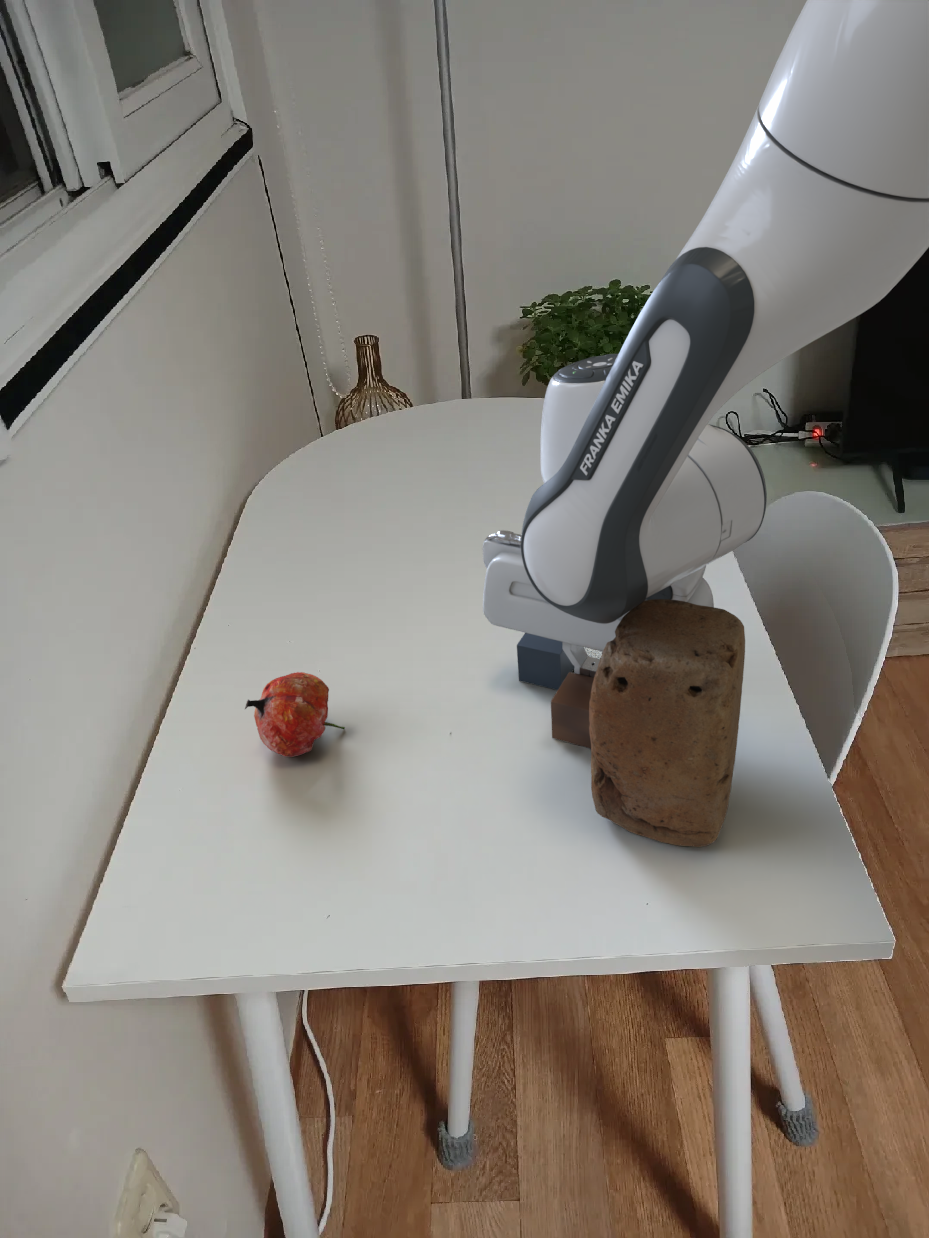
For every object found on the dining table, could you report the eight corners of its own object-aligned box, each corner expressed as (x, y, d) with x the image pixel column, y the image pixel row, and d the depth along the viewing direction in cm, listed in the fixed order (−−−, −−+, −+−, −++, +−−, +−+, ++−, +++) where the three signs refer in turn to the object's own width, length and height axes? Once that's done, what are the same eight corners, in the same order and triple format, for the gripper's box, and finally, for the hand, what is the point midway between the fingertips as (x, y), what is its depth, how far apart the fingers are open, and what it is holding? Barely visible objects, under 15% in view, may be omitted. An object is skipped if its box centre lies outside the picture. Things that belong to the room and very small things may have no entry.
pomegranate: (324, 724, 93) (228, 694, 88) (361, 675, 89) (264, 641, 85) (328, 783, 87) (227, 755, 83) (369, 733, 84) (265, 700, 79)
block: (735, 787, 78) (756, 603, 65) (719, 863, 73) (739, 681, 60) (605, 760, 81) (600, 581, 68) (581, 830, 76) (571, 651, 63)
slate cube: (577, 664, 94) (576, 628, 91) (561, 691, 91) (560, 654, 88) (535, 654, 96) (534, 619, 93) (518, 680, 92) (516, 644, 90)
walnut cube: (615, 719, 87) (615, 682, 84) (598, 751, 84) (598, 713, 81) (569, 708, 89) (568, 671, 86) (551, 738, 85) (550, 701, 83)
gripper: (465, 544, 80) (474, 671, 88) (706, 595, 72) (692, 730, 80) (497, 509, 85) (503, 634, 93) (727, 553, 77) (712, 685, 85)
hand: (592, 679), depth 86 cm, fingers closed, pressing on walnut cube
